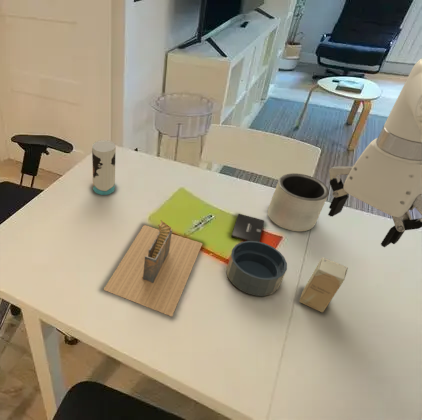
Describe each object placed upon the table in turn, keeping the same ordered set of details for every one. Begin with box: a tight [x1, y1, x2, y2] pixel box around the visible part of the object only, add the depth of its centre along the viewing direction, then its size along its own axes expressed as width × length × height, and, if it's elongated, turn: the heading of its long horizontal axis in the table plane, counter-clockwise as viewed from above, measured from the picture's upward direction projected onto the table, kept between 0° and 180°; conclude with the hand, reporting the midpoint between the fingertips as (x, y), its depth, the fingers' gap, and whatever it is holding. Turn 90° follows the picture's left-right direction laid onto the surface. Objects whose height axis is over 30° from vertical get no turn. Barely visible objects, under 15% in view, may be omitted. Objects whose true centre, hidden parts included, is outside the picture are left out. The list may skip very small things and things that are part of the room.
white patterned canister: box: [91, 139, 117, 196], centre depth 111 cm, size 7×7×15 cm
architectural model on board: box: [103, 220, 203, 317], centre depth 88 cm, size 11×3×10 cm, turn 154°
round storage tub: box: [225, 240, 288, 297], centre depth 86 cm, size 12×12×6 cm
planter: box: [267, 172, 330, 232], centre depth 101 cm, size 12×13×11 cm
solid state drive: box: [231, 213, 265, 242], centre depth 101 cm, size 7×10×1 cm
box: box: [299, 256, 349, 313], centre depth 79 cm, size 5×4×11 cm
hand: (359, 227), depth 67 cm, fingers open, 9 cm apart
